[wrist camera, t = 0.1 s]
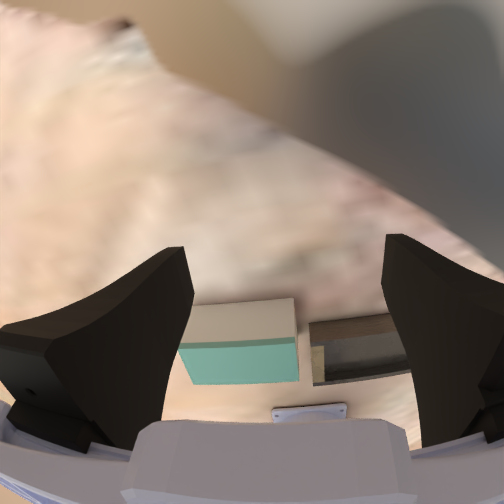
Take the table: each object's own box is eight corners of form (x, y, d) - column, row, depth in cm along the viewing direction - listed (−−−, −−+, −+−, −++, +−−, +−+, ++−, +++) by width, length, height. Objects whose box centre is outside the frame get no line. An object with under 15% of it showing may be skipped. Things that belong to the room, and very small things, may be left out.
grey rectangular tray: (424, 351, 26) (430, 368, 24) (311, 367, 28) (313, 386, 26) (435, 306, 24) (444, 322, 22) (308, 323, 25) (310, 342, 23)
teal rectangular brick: (297, 334, 26) (299, 380, 22) (205, 340, 27) (193, 384, 23) (293, 296, 24) (295, 343, 20) (192, 304, 26) (177, 348, 21)
